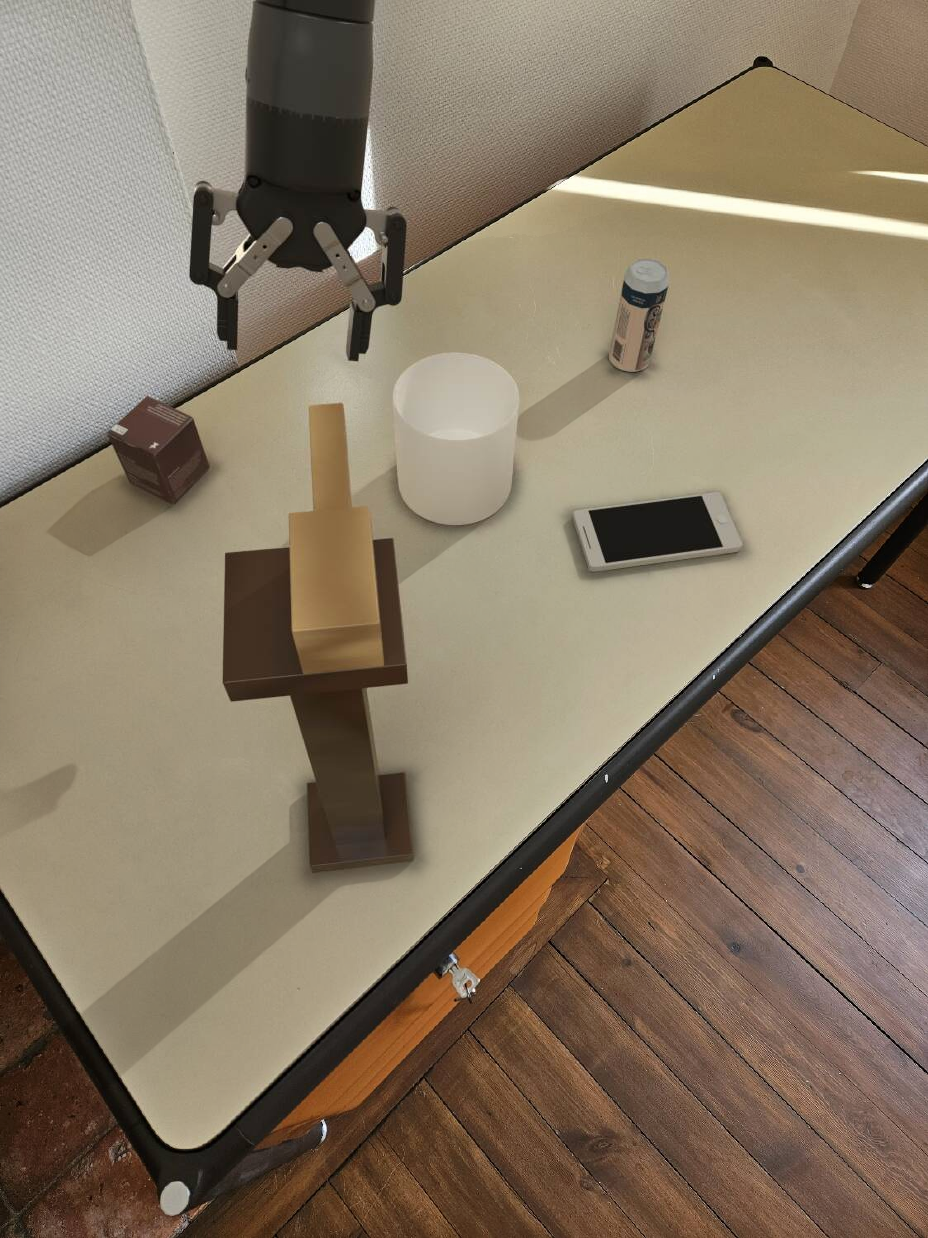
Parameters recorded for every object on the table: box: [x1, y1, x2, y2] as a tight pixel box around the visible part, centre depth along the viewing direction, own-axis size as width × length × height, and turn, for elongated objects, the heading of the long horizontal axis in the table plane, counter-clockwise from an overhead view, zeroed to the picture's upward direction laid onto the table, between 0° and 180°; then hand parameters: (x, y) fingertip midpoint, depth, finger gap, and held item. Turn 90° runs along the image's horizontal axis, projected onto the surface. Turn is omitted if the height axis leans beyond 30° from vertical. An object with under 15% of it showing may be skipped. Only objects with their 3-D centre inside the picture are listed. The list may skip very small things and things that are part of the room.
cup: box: [391, 352, 520, 526], centre depth 88 cm, size 12×12×12 cm
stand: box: [222, 537, 415, 874], centre depth 60 cm, size 9×8×32 cm
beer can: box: [608, 257, 671, 373], centre depth 99 cm, size 5×5×12 cm
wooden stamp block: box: [288, 402, 384, 674], centre depth 47 cm, size 4×17×4 cm, turn 7°
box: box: [106, 395, 211, 505], centre depth 90 cm, size 6×6×7 cm
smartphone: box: [572, 491, 744, 572], centre depth 90 cm, size 7×16×1 cm, turn 100°
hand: (293, 351), depth 65 cm, fingers open, 8 cm apart
